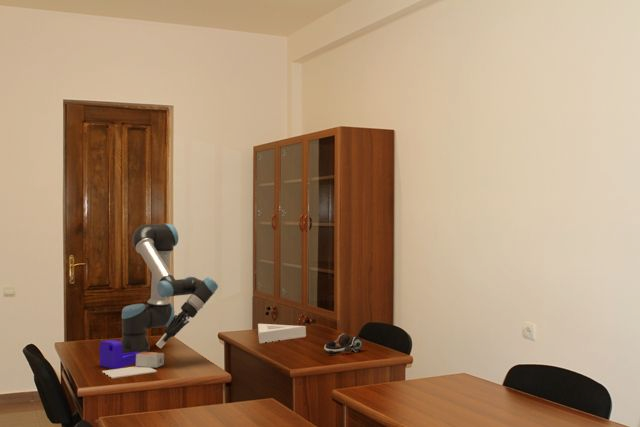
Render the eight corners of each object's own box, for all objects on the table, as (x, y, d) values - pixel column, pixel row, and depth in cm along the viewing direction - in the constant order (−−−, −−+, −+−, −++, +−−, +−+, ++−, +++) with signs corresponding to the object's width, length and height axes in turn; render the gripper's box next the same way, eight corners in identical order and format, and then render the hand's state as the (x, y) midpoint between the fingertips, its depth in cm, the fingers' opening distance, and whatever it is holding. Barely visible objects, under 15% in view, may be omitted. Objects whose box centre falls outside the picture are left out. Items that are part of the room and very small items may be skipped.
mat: (101, 372, 323) (101, 370, 323) (145, 366, 333) (145, 364, 333) (111, 378, 310) (111, 377, 310) (157, 372, 321) (157, 370, 321)
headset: (365, 335, 356) (331, 346, 346) (368, 351, 357) (333, 362, 347) (346, 331, 371) (313, 341, 361) (349, 345, 372) (315, 356, 362)
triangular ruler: (258, 334, 414) (257, 323, 413) (303, 333, 416) (303, 322, 416) (259, 344, 384) (259, 332, 384) (308, 342, 387) (308, 330, 387)
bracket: (114, 369, 328) (113, 343, 328) (100, 366, 335) (99, 341, 335) (146, 362, 343) (146, 337, 342) (132, 359, 349) (131, 335, 349)
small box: (157, 355, 328) (135, 353, 330) (157, 368, 328) (135, 366, 329) (164, 352, 336) (143, 351, 337) (163, 365, 335) (142, 363, 337)
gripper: (203, 313, 334) (169, 354, 325) (192, 310, 345) (159, 349, 336) (192, 302, 331) (157, 343, 322) (181, 299, 342) (147, 339, 333)
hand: (158, 346), depth 329 cm, fingers closed
